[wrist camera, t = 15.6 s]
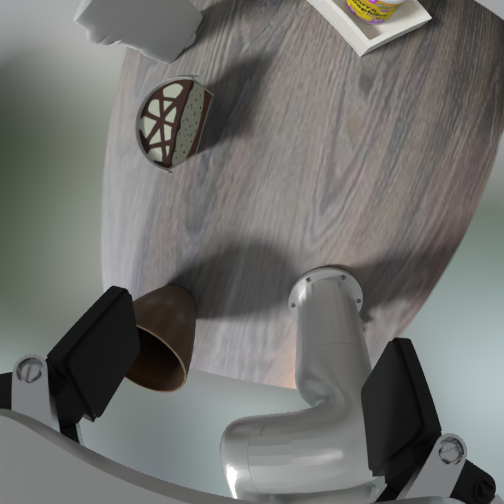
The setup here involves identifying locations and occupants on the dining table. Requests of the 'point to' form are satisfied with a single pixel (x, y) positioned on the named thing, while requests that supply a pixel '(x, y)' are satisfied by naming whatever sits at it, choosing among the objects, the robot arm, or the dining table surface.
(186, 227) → the dining table surface
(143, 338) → the plant pot
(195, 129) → the food container
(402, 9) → the box
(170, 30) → the tall pale column
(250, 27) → the dining table surface
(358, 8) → the supplement bottle
